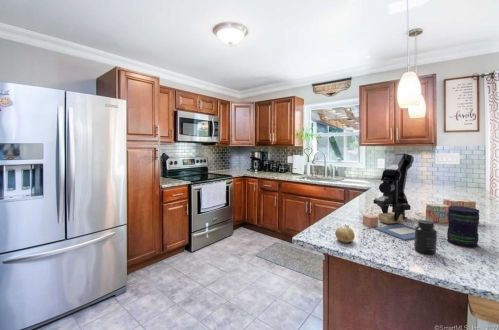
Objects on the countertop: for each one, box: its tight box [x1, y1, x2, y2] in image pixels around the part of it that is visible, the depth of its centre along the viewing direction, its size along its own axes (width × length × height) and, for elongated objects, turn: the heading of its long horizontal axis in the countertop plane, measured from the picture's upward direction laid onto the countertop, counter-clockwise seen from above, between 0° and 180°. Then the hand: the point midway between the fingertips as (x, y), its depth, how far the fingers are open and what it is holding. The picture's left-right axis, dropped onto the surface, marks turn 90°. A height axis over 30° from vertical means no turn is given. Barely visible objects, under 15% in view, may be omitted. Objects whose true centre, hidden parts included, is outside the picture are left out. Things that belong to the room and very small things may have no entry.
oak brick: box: [378, 211, 404, 225], centre depth 128 cm, size 10×6×4 cm, turn 105°
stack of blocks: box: [425, 198, 477, 224], centre depth 129 cm, size 21×6×12 cm, turn 84°
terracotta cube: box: [362, 214, 379, 228], centre depth 124 cm, size 5×5×5 cm
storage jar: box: [446, 206, 480, 249], centre depth 99 cm, size 10×10×15 cm
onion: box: [334, 224, 356, 244], centre depth 102 cm, size 8×8×7 cm
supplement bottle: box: [413, 219, 438, 256], centre depth 91 cm, size 7×7×12 cm
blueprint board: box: [374, 223, 416, 241], centre depth 113 cm, size 18×16×1 cm
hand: (390, 219), depth 128 cm, fingers closed on oak brick, 6 cm apart
